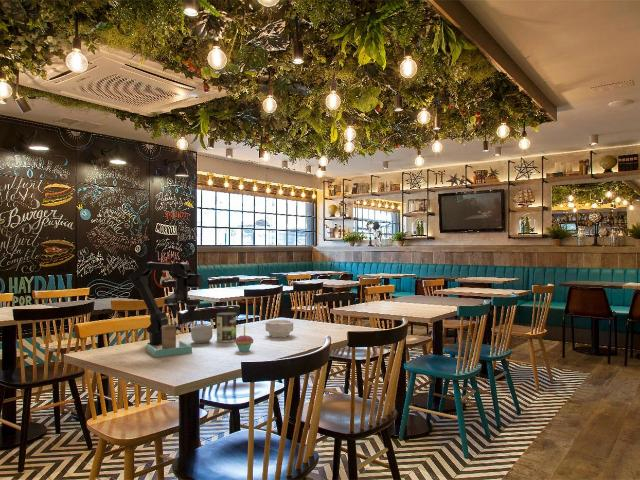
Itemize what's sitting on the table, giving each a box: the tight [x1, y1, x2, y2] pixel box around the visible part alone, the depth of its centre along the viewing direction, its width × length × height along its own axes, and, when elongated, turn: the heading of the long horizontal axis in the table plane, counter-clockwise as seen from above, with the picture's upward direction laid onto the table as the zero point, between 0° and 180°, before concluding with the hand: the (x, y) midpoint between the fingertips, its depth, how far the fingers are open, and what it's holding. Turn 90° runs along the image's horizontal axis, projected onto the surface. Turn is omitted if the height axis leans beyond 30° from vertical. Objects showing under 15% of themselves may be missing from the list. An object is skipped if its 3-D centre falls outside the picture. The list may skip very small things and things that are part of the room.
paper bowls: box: [265, 319, 294, 338], centre depth 260 cm, size 15×15×8 cm
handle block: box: [161, 324, 177, 349], centre depth 221 cm, size 5×5×12 cm
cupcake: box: [234, 324, 254, 353], centre depth 223 cm, size 9×8×12 cm
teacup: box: [190, 324, 213, 344], centre depth 245 cm, size 14×11×8 cm
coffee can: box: [216, 311, 238, 343], centre depth 248 cm, size 10×10×14 cm
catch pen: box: [146, 340, 193, 358], centre depth 221 cm, size 16×16×3 cm
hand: (181, 318), depth 237 cm, fingers open, 9 cm apart
